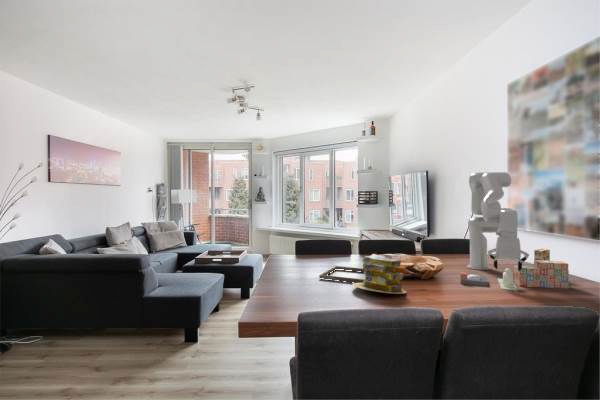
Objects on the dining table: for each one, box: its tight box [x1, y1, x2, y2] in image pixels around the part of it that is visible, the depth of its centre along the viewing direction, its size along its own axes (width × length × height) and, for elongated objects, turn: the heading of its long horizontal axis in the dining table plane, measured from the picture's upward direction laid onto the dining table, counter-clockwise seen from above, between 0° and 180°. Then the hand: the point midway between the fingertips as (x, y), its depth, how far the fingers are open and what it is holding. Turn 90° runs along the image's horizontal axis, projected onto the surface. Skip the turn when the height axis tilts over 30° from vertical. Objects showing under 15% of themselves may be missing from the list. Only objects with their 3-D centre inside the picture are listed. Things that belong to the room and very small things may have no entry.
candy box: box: [533, 248, 551, 261], centre depth 179 cm, size 9×4×15 cm, turn 121°
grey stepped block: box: [460, 271, 489, 287], centre depth 171 cm, size 12×12×6 cm
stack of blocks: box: [513, 259, 570, 289], centre depth 164 cm, size 21×6×12 cm, turn 79°
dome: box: [467, 274, 481, 280], centre depth 171 cm, size 6×6×3 cm
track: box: [497, 278, 519, 292], centre depth 166 cm, size 21×6×1 cm, turn 154°
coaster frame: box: [318, 265, 365, 283], centre depth 185 cm, size 26×26×2 cm
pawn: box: [502, 267, 515, 288], centre depth 161 cm, size 5×5×9 cm
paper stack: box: [351, 253, 407, 295], centre depth 156 cm, size 25×25×17 cm
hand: (507, 269), depth 162 cm, fingers open, 9 cm apart
